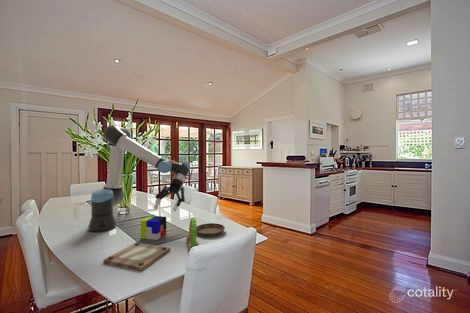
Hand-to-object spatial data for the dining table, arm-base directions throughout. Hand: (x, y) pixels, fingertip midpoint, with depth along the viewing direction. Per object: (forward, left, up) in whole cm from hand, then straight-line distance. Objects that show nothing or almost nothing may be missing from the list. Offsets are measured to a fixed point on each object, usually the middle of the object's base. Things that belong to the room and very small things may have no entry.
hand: (164, 209), depth 140 cm
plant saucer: (+27, +7, -13) cm, 31 cm away
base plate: (+9, -33, -13) cm, 37 cm away
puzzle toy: (-1, -9, -13) cm, 16 cm away
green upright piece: (+27, -15, -13) cm, 34 cm away
